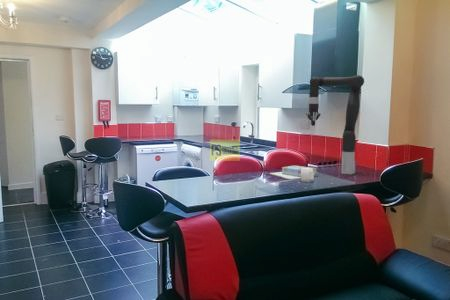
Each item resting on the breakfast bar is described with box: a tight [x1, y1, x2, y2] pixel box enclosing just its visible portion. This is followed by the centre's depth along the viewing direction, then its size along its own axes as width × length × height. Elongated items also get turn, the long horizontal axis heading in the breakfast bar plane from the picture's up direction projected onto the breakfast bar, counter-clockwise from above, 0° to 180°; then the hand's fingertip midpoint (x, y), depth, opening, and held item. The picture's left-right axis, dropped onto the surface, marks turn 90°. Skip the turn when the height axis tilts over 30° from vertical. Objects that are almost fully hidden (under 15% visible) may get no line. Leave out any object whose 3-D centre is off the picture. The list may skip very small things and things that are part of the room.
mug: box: [300, 166, 315, 183], centre depth 256 cm, size 8×11×9 cm
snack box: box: [281, 164, 318, 177], centre depth 278 cm, size 21×6×15 cm
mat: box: [268, 171, 301, 180], centre depth 279 cm, size 22×26×1 cm
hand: (313, 125), depth 288 cm, fingers closed
